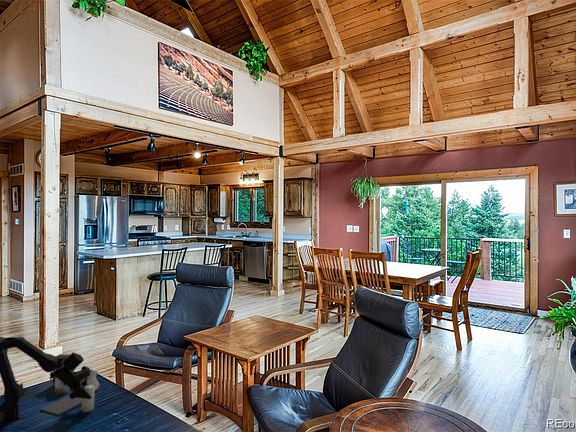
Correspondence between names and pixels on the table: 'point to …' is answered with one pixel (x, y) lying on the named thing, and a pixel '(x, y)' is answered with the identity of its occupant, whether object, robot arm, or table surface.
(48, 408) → the mat
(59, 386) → the tin
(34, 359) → the robot arm
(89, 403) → the light bulb
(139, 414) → the table surface
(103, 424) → the table surface
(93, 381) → the sitting furry creature
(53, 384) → the coffee box
